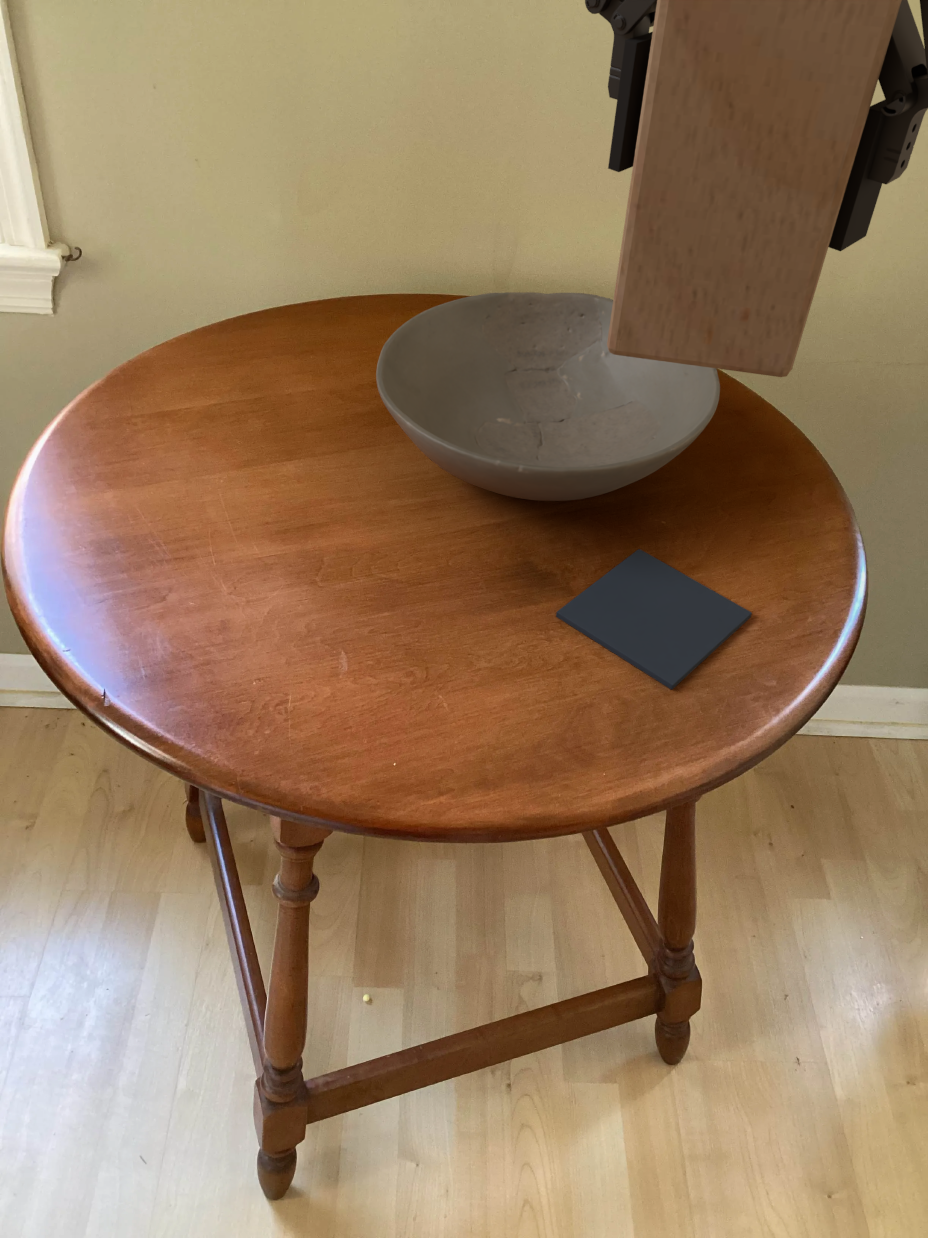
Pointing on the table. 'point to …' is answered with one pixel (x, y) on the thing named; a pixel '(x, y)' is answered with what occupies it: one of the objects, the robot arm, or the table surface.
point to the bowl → (538, 396)
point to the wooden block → (741, 175)
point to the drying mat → (654, 617)
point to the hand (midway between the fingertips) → (730, 201)
